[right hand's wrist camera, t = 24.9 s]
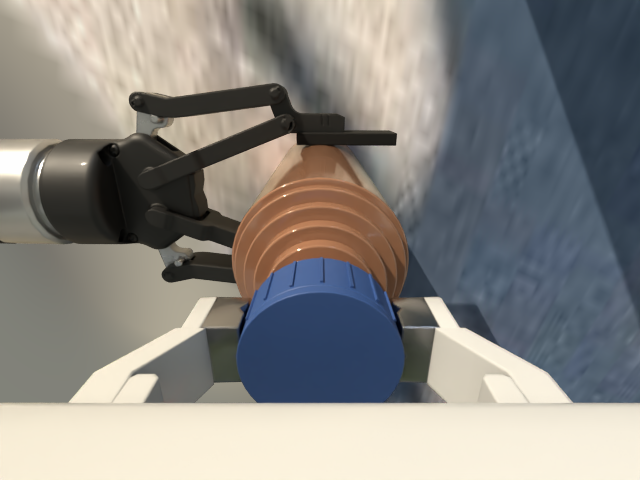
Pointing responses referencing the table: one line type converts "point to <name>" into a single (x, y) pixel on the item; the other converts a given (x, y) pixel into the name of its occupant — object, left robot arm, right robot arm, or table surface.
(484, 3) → the table surface
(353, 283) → the cap
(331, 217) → the bottle
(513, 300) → the table surface
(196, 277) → the left robot arm
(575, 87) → the table surface
